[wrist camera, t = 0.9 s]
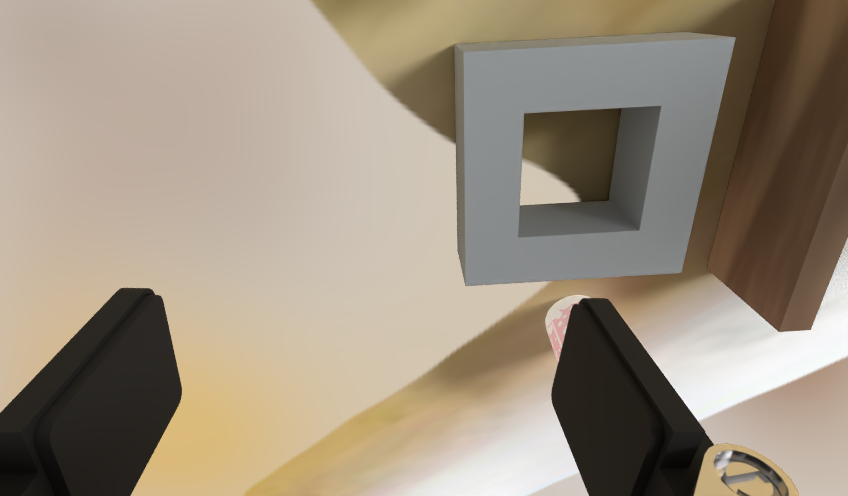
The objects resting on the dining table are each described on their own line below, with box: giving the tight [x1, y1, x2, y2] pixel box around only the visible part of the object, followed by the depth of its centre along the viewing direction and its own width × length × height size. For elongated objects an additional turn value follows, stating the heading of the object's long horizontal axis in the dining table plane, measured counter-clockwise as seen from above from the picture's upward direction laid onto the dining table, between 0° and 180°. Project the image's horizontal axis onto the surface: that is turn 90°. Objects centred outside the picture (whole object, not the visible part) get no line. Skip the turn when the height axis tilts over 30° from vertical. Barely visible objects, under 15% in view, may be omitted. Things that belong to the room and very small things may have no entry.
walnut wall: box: [707, 0, 848, 332], centre depth 29 cm, size 2×20×8 cm, turn 3°
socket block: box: [454, 32, 736, 286], centre depth 30 cm, size 14×14×5 cm
